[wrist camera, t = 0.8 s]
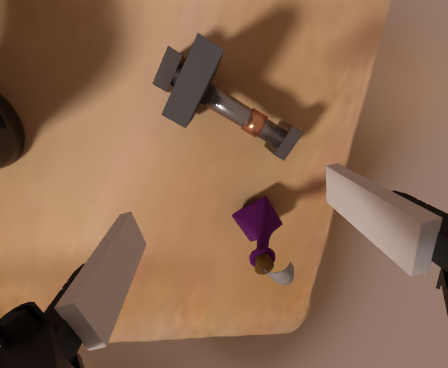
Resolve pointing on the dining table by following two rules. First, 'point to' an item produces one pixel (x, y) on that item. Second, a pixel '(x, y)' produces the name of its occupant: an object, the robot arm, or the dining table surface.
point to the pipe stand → (232, 108)
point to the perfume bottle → (262, 237)
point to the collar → (193, 81)
